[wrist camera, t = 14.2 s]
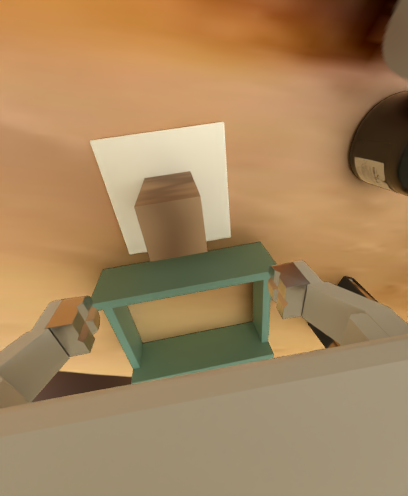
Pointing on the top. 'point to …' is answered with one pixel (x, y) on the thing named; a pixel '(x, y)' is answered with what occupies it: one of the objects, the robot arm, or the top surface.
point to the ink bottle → (383, 145)
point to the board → (166, 173)
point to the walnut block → (171, 216)
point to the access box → (180, 283)
